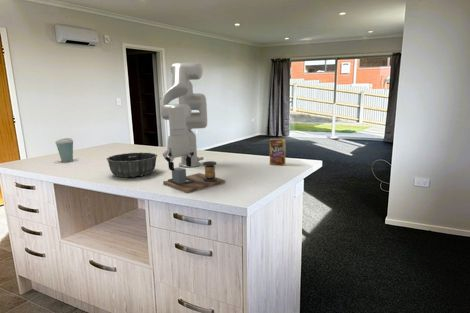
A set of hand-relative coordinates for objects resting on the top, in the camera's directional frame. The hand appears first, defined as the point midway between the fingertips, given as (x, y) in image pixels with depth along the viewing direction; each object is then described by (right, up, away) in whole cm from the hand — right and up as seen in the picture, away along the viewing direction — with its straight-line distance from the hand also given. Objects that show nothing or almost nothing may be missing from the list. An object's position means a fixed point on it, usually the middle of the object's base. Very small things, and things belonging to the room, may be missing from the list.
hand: (180, 168), depth 153 cm
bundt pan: (-30, -4, +25) cm, 39 cm away
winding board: (+6, -8, +3) cm, 10 cm away
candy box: (+51, 0, +39) cm, 64 cm away
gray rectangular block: (-1, -6, +2) cm, 6 cm away
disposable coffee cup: (-87, +2, +63) cm, 107 cm away
